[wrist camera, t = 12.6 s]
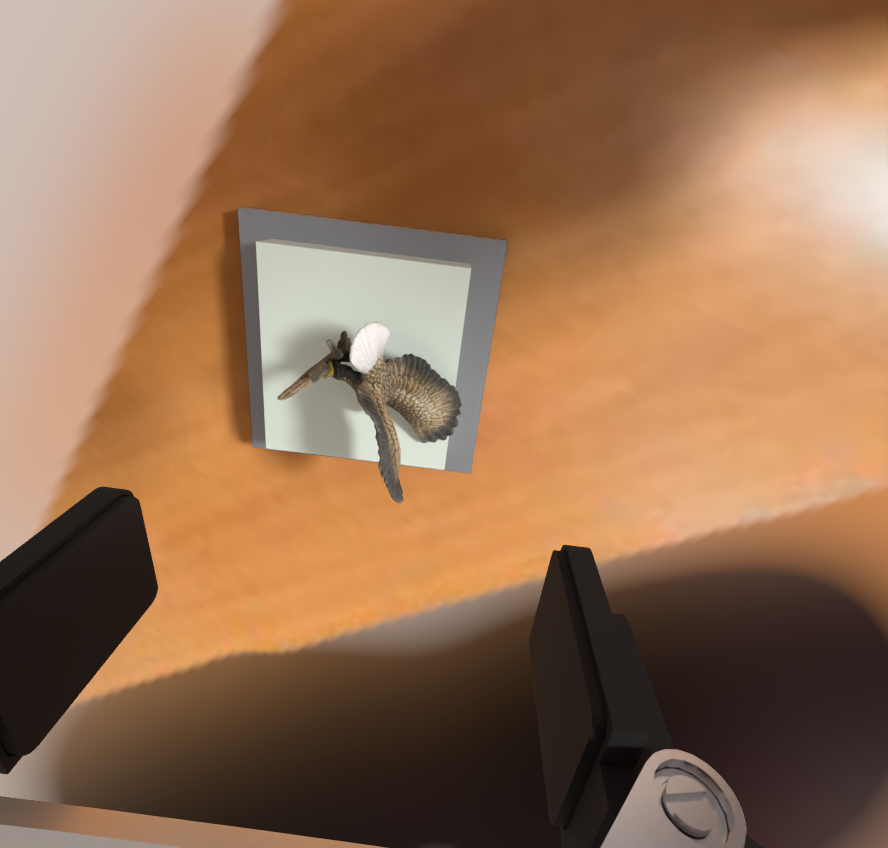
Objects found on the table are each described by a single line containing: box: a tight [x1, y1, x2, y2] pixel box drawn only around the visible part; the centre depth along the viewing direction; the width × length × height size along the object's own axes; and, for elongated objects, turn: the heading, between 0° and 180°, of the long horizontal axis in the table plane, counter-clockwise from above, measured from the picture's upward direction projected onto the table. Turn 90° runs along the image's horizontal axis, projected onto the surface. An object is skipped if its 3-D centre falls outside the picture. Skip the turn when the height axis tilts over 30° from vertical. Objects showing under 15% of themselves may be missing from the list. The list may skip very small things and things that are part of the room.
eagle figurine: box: [277, 322, 462, 503], centre depth 27 cm, size 8×7×9 cm
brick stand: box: [238, 207, 508, 473], centre depth 31 cm, size 16×16×5 cm
